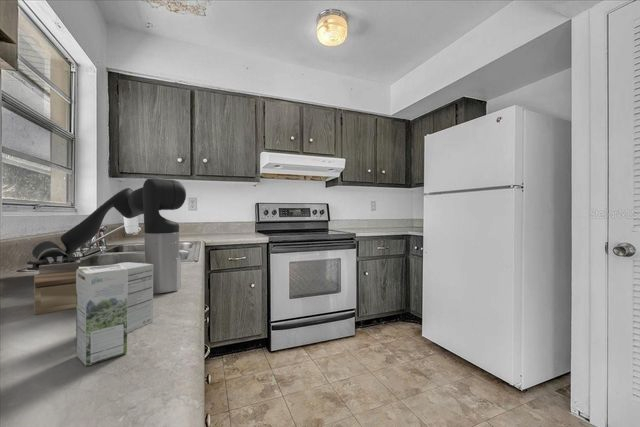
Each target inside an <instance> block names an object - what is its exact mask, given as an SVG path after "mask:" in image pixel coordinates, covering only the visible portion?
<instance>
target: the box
mask: <svg viewBox="0 0 640 427" xmlns="http://www.w3.org/2000/svg"><path fill="white" fill-rule="evenodd" d="M33 298H34V299H33V304H34V305H33V306H34V315H35V316H37V315H42V314H48V313H53V312H59V311H65V310H70V309H76V282H73V283H65V284H57V285H49V286H42V287H35V285H34V284H33Z"/></svg>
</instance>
